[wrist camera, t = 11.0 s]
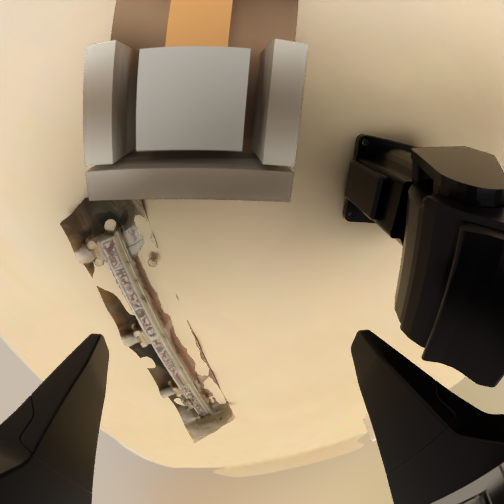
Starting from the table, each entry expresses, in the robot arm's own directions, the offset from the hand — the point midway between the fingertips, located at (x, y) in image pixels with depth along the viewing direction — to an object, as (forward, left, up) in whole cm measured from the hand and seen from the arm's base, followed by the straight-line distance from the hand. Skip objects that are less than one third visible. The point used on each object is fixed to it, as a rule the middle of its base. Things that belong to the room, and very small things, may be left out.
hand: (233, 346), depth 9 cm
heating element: (+5, +13, -13) cm, 19 cm away
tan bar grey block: (+2, -17, -11) cm, 20 cm away
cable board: (+2, -17, -12) cm, 21 cm away
